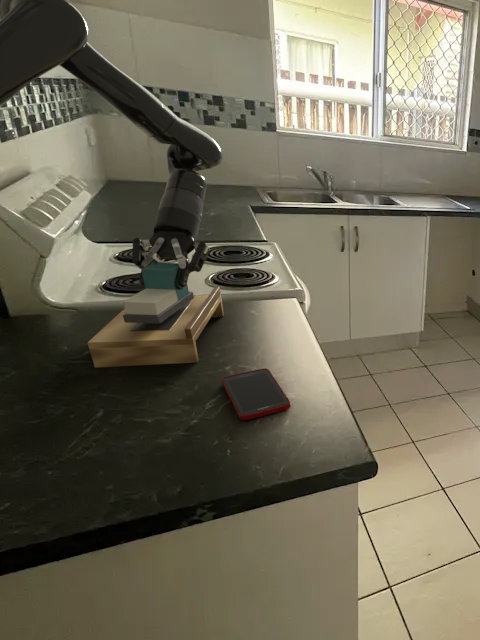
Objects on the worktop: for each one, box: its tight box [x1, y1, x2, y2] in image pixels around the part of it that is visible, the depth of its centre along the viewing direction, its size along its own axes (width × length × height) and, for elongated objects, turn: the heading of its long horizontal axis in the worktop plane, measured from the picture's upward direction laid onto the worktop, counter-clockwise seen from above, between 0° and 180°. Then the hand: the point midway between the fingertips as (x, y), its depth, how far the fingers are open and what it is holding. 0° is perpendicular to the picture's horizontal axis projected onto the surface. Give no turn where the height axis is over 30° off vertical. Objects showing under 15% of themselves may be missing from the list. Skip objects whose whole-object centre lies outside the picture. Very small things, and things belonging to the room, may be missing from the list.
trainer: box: [122, 262, 194, 324], centre depth 94 cm, size 14×6×8 cm, turn 8°
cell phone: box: [221, 368, 292, 421], centre depth 81 cm, size 8×15×1 cm, turn 39°
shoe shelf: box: [87, 286, 225, 369], centre depth 96 cm, size 16×24×7 cm, turn 18°
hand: (162, 287), depth 95 cm, fingers closed on trainer, 5 cm apart
